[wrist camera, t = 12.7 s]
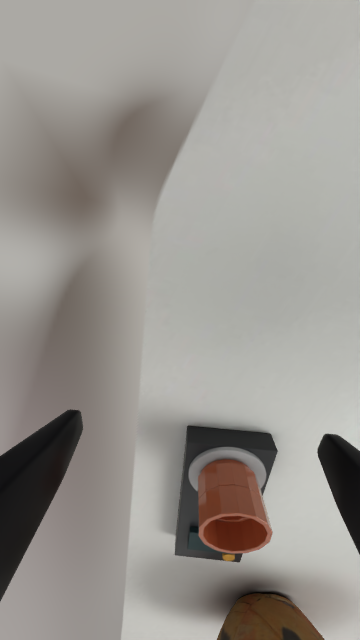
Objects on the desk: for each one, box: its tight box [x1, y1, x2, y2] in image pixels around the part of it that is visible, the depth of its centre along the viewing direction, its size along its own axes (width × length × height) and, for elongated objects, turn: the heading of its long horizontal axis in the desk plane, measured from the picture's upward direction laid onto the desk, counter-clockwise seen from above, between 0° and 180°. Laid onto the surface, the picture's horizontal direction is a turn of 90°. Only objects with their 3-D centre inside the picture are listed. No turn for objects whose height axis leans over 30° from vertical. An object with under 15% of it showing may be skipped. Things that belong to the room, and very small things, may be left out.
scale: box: [175, 426, 278, 562], centre depth 25 cm, size 22×9×3 cm, turn 176°
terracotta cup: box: [197, 459, 272, 554], centre depth 19 cm, size 6×6×4 cm
